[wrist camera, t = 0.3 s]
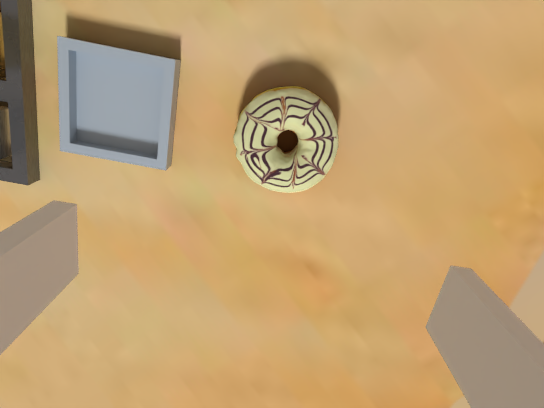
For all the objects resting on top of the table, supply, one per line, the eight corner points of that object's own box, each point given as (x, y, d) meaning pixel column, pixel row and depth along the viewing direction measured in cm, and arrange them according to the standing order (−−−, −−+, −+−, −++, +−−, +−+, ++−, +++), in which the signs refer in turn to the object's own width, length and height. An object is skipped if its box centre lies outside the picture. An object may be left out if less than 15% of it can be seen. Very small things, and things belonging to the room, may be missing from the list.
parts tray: (69, 37, 35) (57, 36, 33) (180, 60, 36) (175, 59, 34) (70, 146, 39) (60, 150, 37) (171, 165, 40) (165, 170, 38)
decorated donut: (246, 191, 41) (243, 203, 37) (228, 94, 37) (223, 97, 34) (338, 178, 40) (344, 189, 37) (329, 78, 36) (334, 79, 33)
